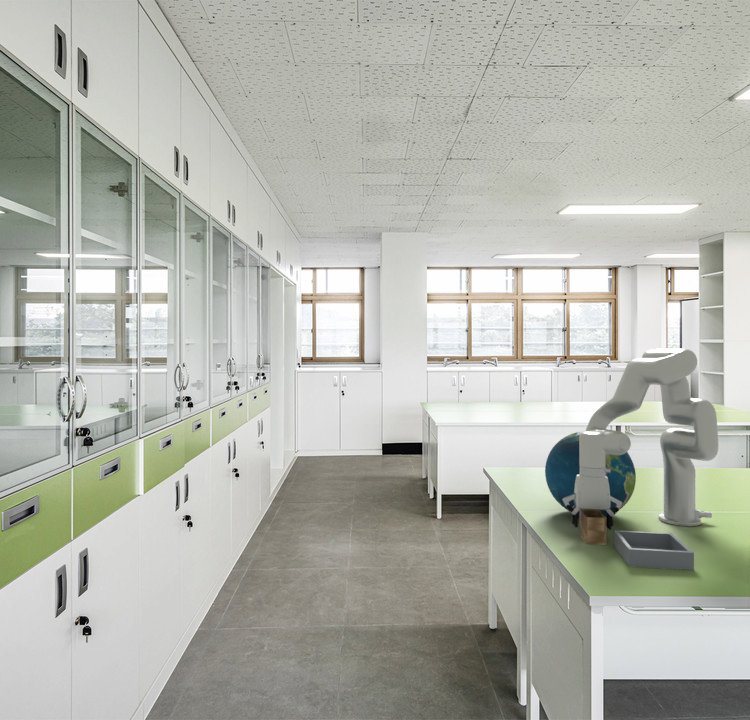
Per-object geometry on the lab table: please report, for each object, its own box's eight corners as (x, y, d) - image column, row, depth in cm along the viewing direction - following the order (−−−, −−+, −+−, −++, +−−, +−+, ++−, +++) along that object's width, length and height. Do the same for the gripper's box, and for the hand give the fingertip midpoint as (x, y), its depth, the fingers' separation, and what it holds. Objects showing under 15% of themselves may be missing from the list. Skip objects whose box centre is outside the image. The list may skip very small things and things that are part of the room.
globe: (579, 533, 172) (579, 439, 172) (529, 508, 201) (528, 427, 200) (656, 525, 180) (656, 435, 180) (597, 502, 208) (596, 424, 208)
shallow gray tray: (672, 550, 158) (672, 533, 158) (693, 571, 142) (693, 552, 142) (613, 547, 161) (613, 530, 161) (629, 567, 145) (629, 549, 145)
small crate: (599, 535, 170) (599, 510, 170) (606, 545, 161) (606, 518, 161) (579, 534, 171) (579, 509, 171) (585, 544, 162) (585, 517, 162)
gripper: (618, 470, 168) (618, 525, 168) (561, 468, 171) (560, 522, 171) (625, 475, 161) (625, 532, 161) (564, 473, 164) (564, 529, 164)
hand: (592, 527), depth 166 cm, fingers open, 9 cm apart
